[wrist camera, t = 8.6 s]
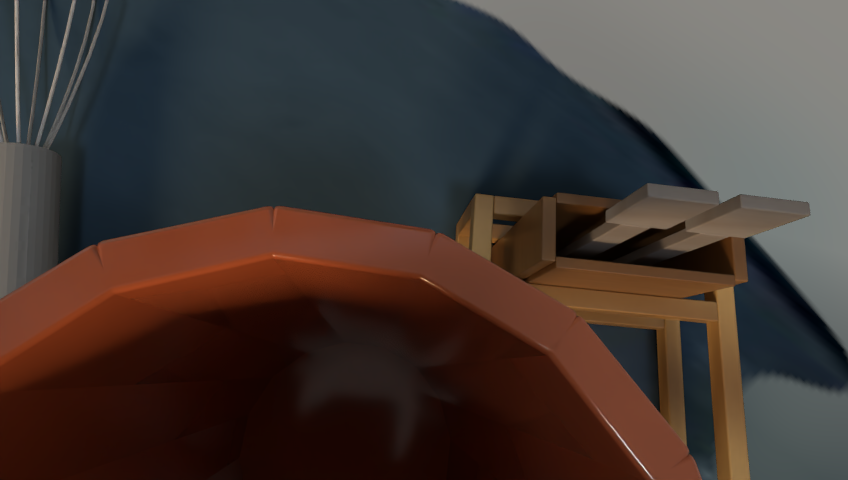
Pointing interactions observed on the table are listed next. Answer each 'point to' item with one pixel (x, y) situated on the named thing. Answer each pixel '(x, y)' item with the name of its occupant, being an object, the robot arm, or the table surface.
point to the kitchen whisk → (33, 176)
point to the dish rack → (643, 276)
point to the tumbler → (311, 363)
